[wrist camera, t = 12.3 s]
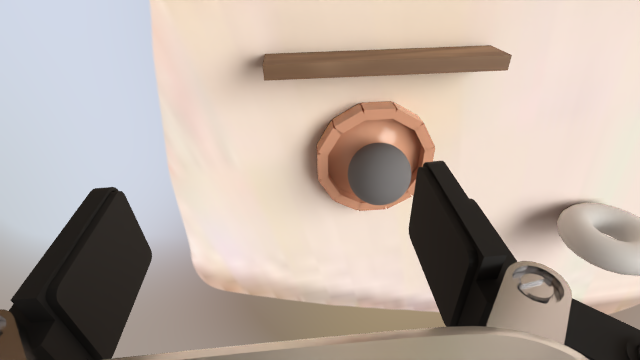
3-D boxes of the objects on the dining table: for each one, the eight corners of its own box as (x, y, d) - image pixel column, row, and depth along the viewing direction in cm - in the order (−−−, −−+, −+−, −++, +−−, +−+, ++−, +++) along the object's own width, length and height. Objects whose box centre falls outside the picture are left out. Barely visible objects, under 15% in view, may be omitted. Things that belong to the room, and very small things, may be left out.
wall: (265, 54, 30) (262, 65, 27) (490, 45, 31) (511, 55, 28) (266, 68, 31) (264, 80, 28) (487, 59, 32) (507, 70, 29)
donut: (534, 220, 43) (592, 284, 35) (544, 198, 41) (608, 260, 33) (609, 218, 44) (684, 280, 36) (623, 195, 42) (706, 256, 34)
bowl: (315, 104, 33) (316, 112, 31) (435, 99, 34) (442, 106, 32) (318, 203, 39) (319, 213, 38) (419, 197, 40) (424, 206, 38)
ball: (344, 132, 34) (353, 165, 29) (405, 130, 34) (424, 161, 29) (343, 183, 38) (350, 219, 33) (398, 180, 38) (414, 216, 33)
